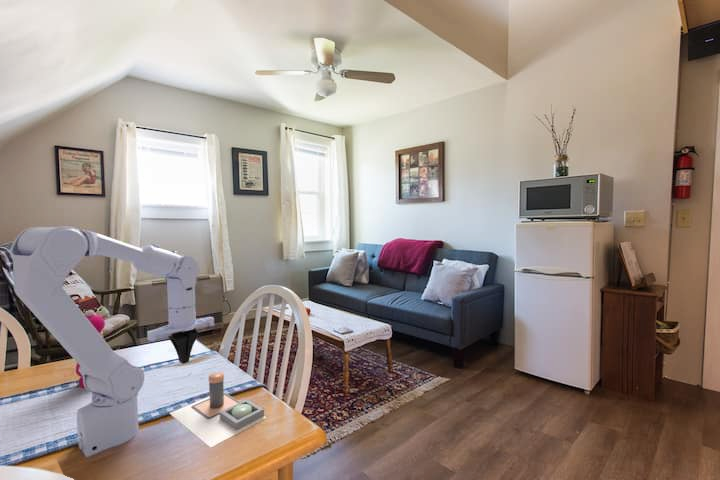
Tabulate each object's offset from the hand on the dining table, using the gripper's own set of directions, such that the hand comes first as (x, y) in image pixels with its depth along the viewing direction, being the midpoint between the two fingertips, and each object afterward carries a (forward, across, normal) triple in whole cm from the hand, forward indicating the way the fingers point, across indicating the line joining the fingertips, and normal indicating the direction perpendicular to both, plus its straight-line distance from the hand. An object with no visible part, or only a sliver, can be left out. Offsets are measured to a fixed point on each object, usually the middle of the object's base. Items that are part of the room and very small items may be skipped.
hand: (184, 361), depth 81 cm
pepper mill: (+10, -11, +30) cm, 34 cm away
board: (+10, +1, -13) cm, 16 cm away
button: (+9, +4, -18) cm, 20 cm away
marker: (+9, +3, -9) cm, 13 cm away
